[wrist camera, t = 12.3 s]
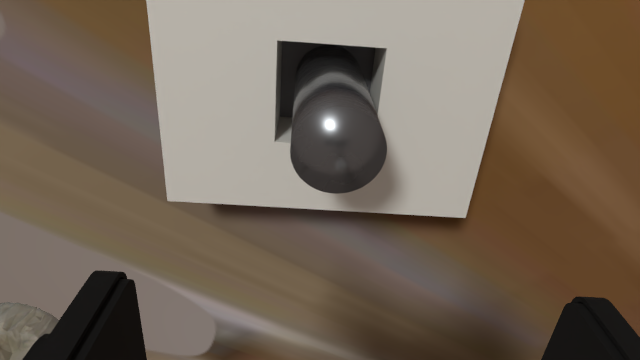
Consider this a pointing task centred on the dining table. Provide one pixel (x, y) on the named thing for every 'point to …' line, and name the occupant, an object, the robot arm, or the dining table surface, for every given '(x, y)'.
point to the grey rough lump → (22, 328)
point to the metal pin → (334, 123)
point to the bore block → (279, 85)
